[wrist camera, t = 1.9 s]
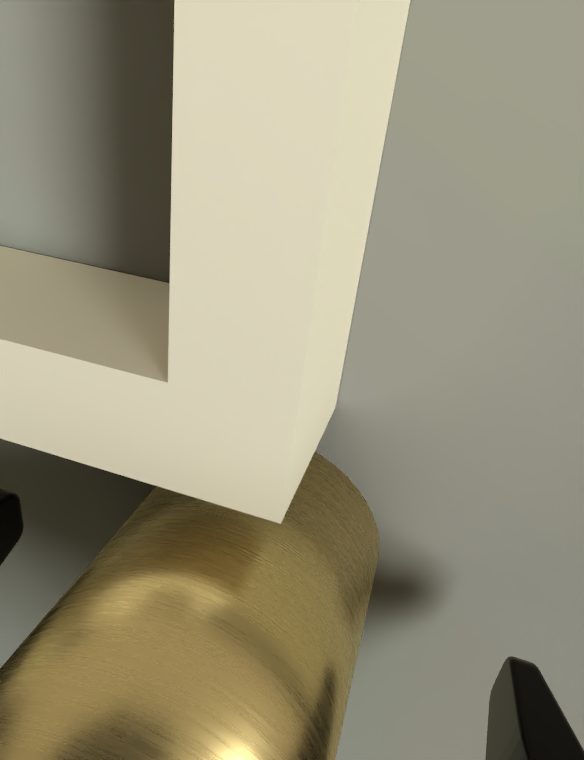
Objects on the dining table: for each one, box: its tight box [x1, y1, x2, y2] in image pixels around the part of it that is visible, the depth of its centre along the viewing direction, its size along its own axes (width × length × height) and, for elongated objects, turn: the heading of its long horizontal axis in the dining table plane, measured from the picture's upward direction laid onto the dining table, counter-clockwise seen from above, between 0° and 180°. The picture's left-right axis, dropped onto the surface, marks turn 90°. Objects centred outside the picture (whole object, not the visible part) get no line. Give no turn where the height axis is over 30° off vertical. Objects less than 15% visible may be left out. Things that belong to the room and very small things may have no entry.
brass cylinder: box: [0, 452, 379, 760], centre depth 8 cm, size 4×4×6 cm
